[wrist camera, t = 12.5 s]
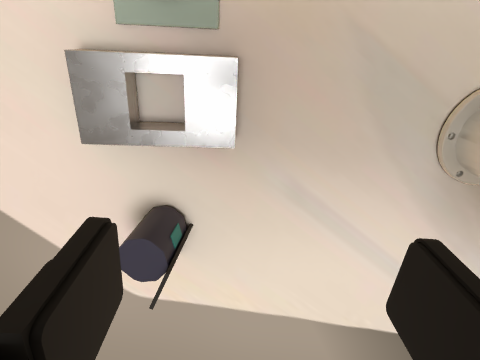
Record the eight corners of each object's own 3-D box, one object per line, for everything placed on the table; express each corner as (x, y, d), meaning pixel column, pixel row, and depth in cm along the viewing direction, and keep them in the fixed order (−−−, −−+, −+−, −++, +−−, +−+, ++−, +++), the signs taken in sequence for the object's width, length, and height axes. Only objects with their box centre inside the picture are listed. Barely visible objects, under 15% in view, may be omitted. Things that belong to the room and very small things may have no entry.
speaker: (206, 230, 40) (189, 285, 31) (178, 254, 42) (154, 312, 32) (164, 192, 38) (132, 238, 29) (136, 219, 40) (98, 269, 31)
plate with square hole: (237, 56, 31) (238, 58, 28) (233, 138, 35) (234, 148, 32) (81, 49, 31) (64, 49, 27) (95, 134, 34) (81, 143, 31)
